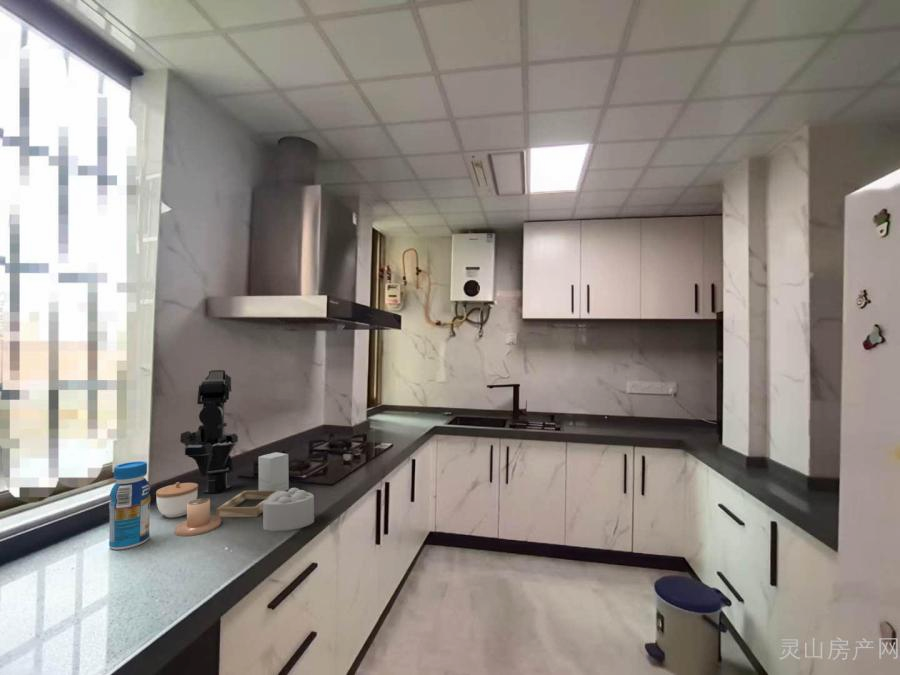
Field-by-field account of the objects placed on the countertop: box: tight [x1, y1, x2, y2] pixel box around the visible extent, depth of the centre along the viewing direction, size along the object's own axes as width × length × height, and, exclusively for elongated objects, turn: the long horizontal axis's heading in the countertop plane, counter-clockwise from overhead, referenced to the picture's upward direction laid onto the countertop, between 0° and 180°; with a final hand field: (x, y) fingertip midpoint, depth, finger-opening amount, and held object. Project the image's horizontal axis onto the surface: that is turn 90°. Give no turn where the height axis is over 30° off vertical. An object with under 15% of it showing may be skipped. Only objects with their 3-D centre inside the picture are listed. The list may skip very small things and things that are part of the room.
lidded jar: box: [155, 481, 199, 519], centre depth 124 cm, size 11×11×9 cm
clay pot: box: [186, 497, 211, 528], centre depth 113 cm, size 6×6×6 cm
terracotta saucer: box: [173, 515, 222, 537], centre depth 113 cm, size 11×11×1 cm
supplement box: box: [258, 451, 290, 492], centre depth 143 cm, size 7×7×13 cm
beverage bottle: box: [108, 460, 151, 551], centre depth 105 cm, size 8×8×20 cm
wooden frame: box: [215, 490, 279, 518], centre depth 128 cm, size 16×12×2 cm
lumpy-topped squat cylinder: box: [262, 487, 315, 532], centre depth 115 cm, size 10×13×9 cm
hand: (212, 471), depth 126 cm, fingers open, 9 cm apart
